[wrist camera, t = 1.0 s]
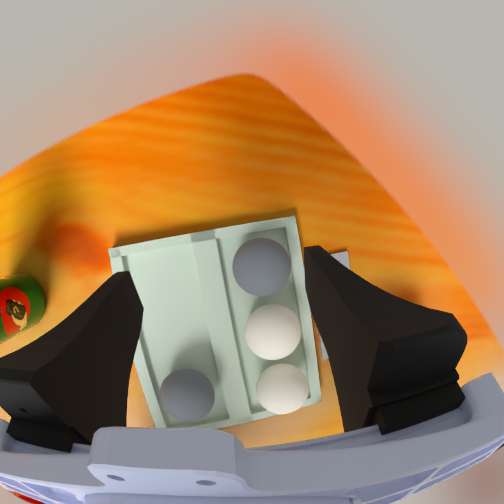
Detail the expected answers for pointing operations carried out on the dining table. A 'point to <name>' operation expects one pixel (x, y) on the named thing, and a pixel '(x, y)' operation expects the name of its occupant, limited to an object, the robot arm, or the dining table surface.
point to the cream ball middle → (272, 331)
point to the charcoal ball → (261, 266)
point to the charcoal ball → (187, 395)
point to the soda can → (19, 304)
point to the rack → (212, 318)
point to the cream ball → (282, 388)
